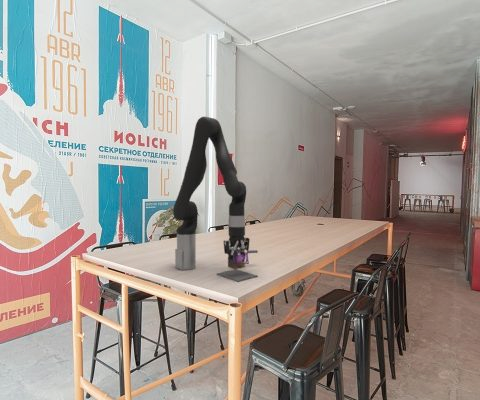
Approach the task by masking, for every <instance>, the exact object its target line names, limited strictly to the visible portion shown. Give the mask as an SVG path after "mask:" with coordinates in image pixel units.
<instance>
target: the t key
mask: <svg viewBox="0 0 480 400" xmlns="http://www.w3.org/2000/svg"><path fill="white" fill-rule="evenodd" d="M237 249H239V248H236V250H237ZM247 252H248V254H258V252H259V251H258V250H257V249H256V250H255V249H254V250H250V249H249V250H248V251H247ZM239 254H240V253H239V252H238V251H236V257H237V255H239Z"/></svg>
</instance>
